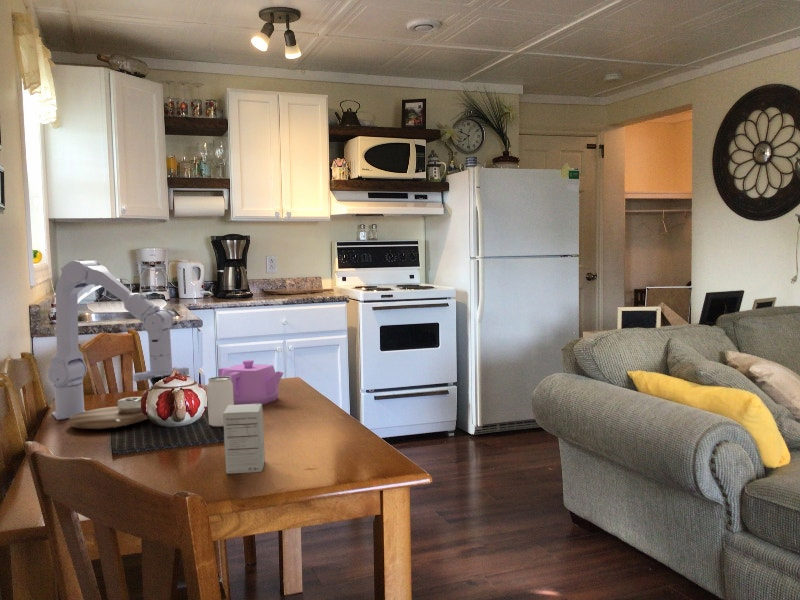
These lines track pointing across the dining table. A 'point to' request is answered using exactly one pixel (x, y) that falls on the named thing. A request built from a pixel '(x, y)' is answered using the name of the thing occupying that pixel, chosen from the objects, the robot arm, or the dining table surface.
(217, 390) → the can
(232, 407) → the supplement box
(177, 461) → the dining table surface
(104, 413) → the turntable
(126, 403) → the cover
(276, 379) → the teakettle
